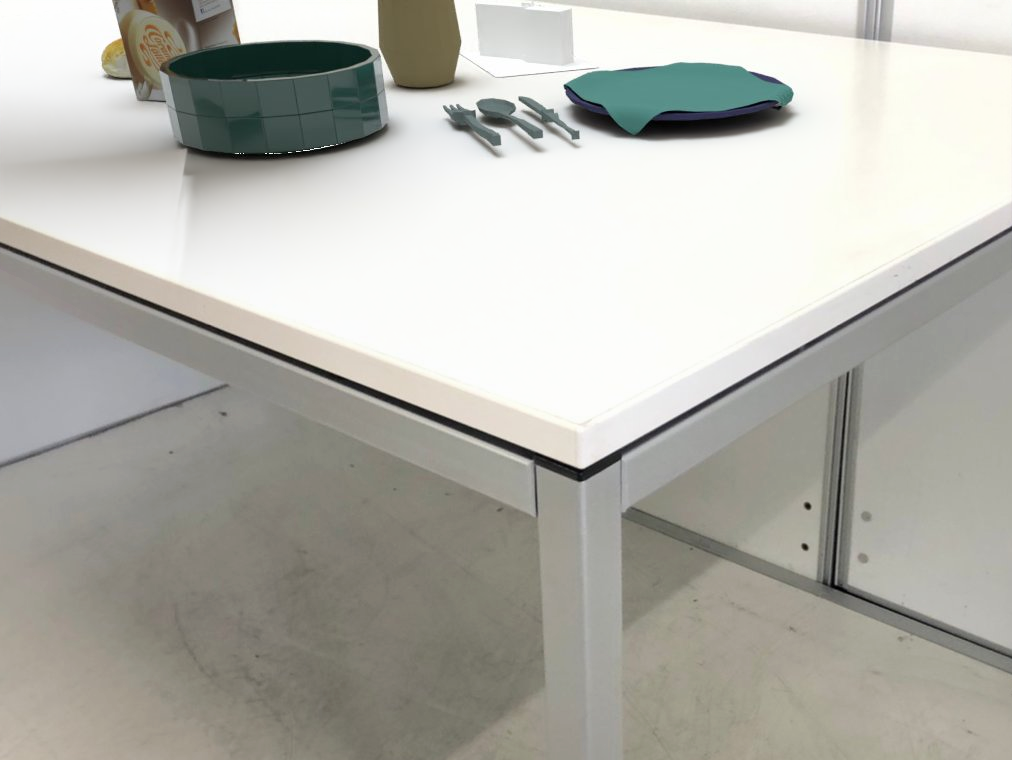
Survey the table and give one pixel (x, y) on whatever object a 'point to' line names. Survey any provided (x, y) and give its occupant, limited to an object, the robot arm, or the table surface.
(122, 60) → the bread roll
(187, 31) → the coffee box
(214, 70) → the bowl
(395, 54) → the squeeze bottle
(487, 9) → the napkin holder
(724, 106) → the cutlery set
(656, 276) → the table surface
